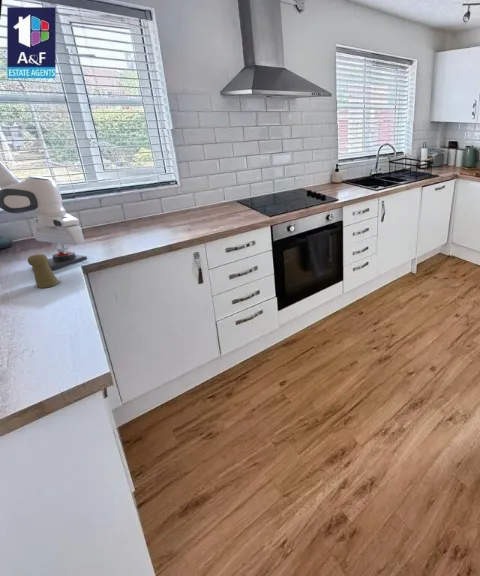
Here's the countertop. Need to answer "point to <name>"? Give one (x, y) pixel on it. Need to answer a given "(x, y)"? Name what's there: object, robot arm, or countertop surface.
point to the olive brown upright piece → (42, 271)
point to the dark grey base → (64, 260)
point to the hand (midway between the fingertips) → (63, 253)
